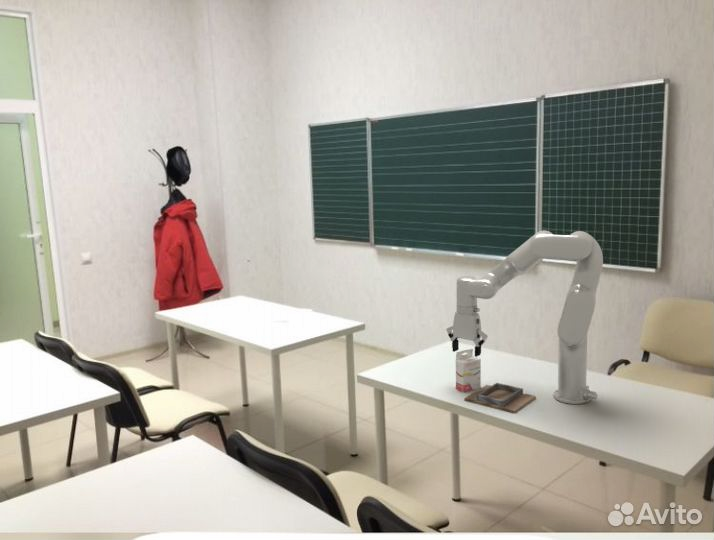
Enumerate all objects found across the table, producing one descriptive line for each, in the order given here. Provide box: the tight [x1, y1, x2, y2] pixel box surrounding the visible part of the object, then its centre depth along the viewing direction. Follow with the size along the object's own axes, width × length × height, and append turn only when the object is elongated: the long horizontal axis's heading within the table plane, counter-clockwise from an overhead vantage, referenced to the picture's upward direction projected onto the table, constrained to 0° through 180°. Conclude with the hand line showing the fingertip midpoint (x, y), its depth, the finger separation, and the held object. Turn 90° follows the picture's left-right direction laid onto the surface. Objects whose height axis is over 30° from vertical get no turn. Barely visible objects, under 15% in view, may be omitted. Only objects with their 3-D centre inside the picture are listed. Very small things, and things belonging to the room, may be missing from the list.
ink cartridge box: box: [455, 348, 482, 393], centre depth 232 cm, size 9×5×15 cm, turn 120°
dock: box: [464, 382, 537, 414], centre depth 221 cm, size 20×16×3 cm
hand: (466, 353), depth 231 cm, fingers open, 9 cm apart
